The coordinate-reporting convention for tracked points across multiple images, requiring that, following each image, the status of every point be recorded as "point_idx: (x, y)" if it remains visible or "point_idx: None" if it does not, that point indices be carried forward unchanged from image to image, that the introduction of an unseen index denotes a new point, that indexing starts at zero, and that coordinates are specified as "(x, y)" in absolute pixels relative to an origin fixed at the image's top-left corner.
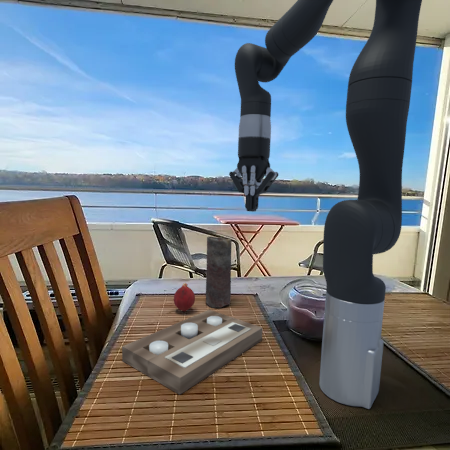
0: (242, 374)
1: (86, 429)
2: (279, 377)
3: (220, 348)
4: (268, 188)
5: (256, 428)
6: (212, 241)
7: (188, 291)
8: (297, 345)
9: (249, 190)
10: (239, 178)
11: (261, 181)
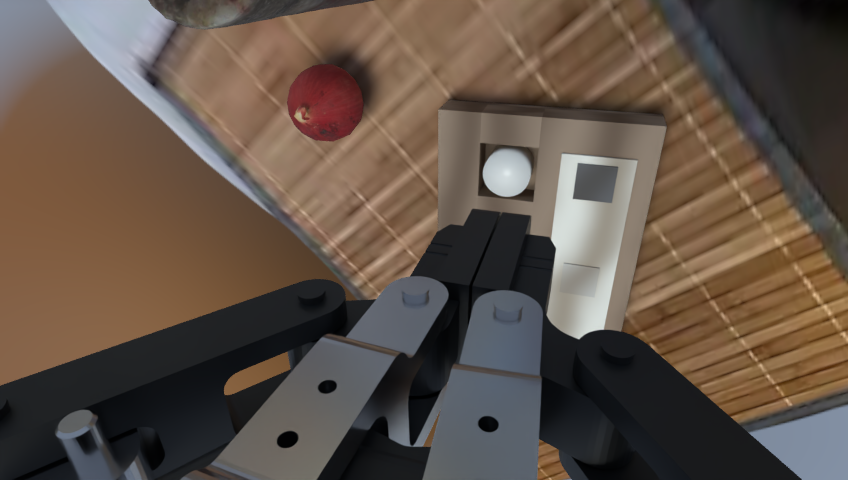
0: (684, 286)
1: (544, 464)
2: (776, 258)
3: (614, 293)
4: (701, 398)
5: (773, 397)
6: (218, 27)
7: (333, 117)
8: (792, 72)
9: (424, 382)
10: (141, 422)
11: (535, 439)
